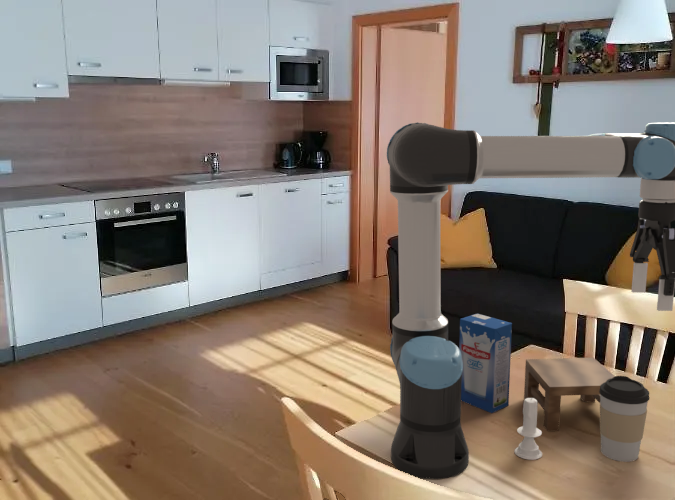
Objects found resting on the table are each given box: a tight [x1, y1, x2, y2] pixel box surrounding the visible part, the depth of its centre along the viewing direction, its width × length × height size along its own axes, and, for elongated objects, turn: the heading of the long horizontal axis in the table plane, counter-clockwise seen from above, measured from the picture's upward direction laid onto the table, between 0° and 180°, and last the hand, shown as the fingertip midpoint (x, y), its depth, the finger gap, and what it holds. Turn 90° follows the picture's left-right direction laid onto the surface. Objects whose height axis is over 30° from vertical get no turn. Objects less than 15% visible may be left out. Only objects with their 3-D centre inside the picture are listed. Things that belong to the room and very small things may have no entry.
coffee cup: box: [599, 375, 650, 463], centre depth 132 cm, size 9×9×15 cm
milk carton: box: [458, 313, 513, 414], centre depth 155 cm, size 10×6×20 cm, turn 40°
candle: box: [514, 398, 543, 461], centre depth 132 cm, size 5×5×12 cm
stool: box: [523, 357, 616, 432], centre depth 150 cm, size 16×16×10 cm
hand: (650, 300), depth 140 cm, fingers open, 13 cm apart
